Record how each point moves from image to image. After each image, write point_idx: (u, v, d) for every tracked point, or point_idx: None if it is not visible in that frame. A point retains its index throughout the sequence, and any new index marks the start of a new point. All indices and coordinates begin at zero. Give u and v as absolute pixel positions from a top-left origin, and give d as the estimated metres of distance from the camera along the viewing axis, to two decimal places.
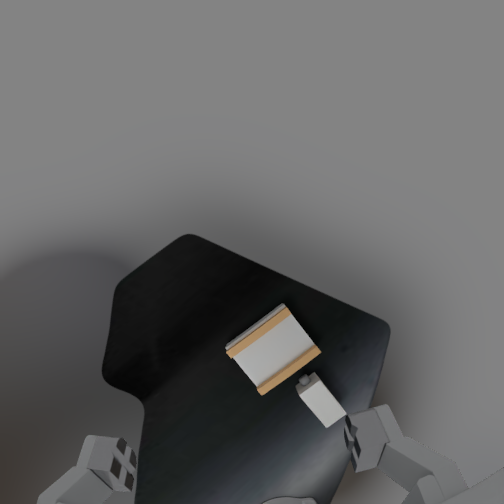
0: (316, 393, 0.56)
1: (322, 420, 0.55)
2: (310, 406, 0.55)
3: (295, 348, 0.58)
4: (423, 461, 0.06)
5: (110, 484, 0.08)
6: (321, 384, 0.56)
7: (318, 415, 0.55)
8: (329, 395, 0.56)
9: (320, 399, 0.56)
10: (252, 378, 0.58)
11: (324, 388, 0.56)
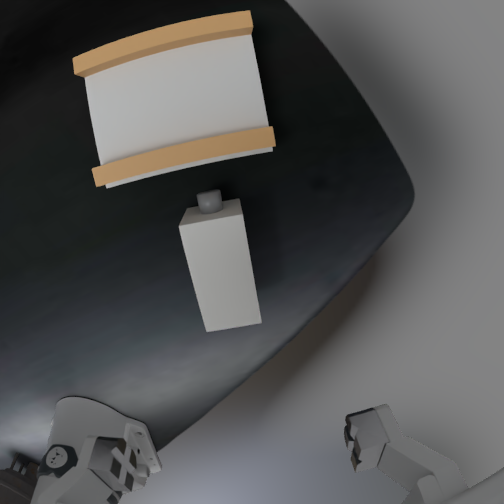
0: (219, 242, 0.25)
1: (205, 311, 0.27)
2: (192, 266, 0.25)
3: (221, 113, 0.23)
4: (423, 461, 0.06)
5: (110, 484, 0.08)
6: (240, 226, 0.24)
7: (201, 296, 0.26)
8: (246, 263, 0.25)
9: (221, 261, 0.25)
10: (100, 142, 0.22)
11: (243, 240, 0.25)
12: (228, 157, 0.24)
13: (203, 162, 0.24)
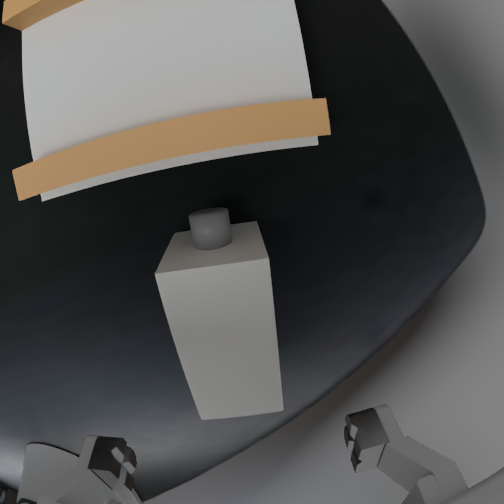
0: (225, 303, 0.14)
1: (199, 397, 0.16)
2: (179, 337, 0.15)
3: (231, 74, 0.12)
4: (423, 461, 0.06)
5: (110, 484, 0.08)
6: (264, 279, 0.14)
7: (193, 378, 0.16)
8: (268, 335, 0.15)
9: (228, 332, 0.15)
10: (33, 127, 0.12)
11: (266, 301, 0.14)
12: (241, 152, 0.13)
13: (196, 159, 0.13)
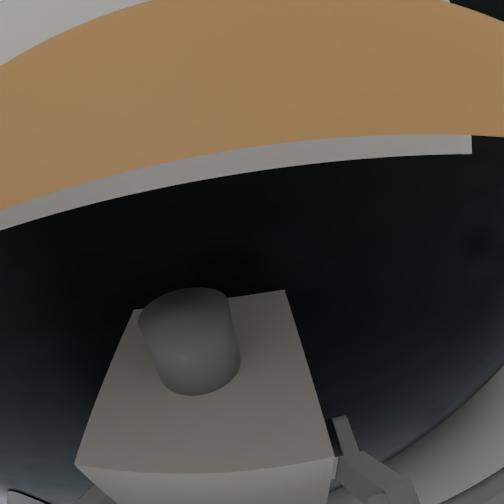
0: None
1: None
2: None
3: None
4: (376, 478, 0.06)
5: None
6: (316, 480, 0.05)
7: None
8: None
9: None
10: None
11: (314, 498, 0.05)
12: (289, 158, 0.04)
13: (155, 180, 0.04)
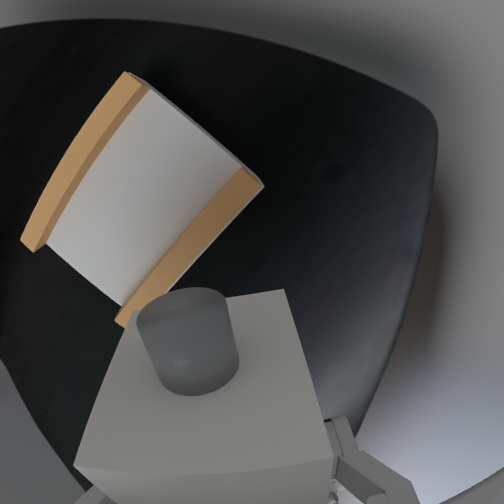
0: None
1: None
2: None
3: (186, 187, 0.20)
4: (376, 478, 0.06)
5: None
6: (316, 481, 0.05)
7: None
8: None
9: None
10: (104, 288, 0.22)
11: (314, 499, 0.05)
12: (226, 224, 0.21)
13: (207, 245, 0.21)
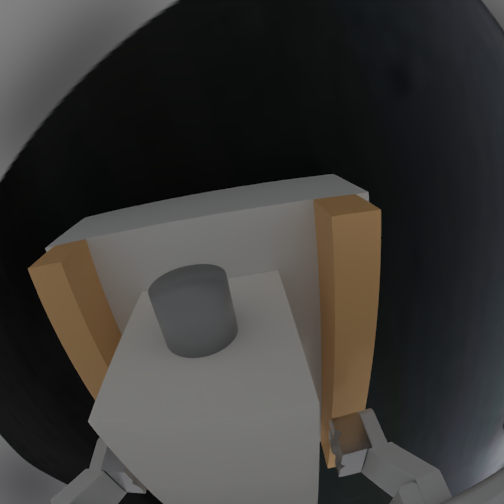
0: (230, 462, 0.06)
1: None
2: (156, 488, 0.07)
3: None
4: (406, 468, 0.06)
5: (124, 486, 0.08)
6: (306, 432, 0.06)
7: None
8: (304, 483, 0.07)
9: (237, 487, 0.07)
10: None
11: (306, 455, 0.06)
12: None
13: None
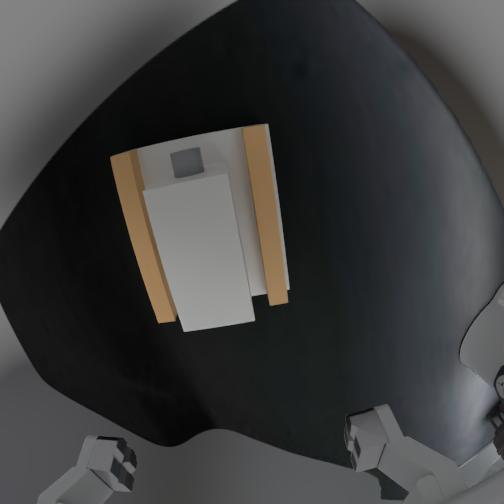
0: (196, 212, 0.18)
1: (180, 305, 0.20)
2: (162, 245, 0.19)
3: None
4: (423, 461, 0.06)
5: (110, 484, 0.08)
6: (225, 190, 0.18)
7: (175, 285, 0.20)
8: (232, 240, 0.19)
9: (200, 238, 0.19)
10: None
11: (228, 209, 0.18)
12: (273, 169, 0.23)
13: (276, 195, 0.24)
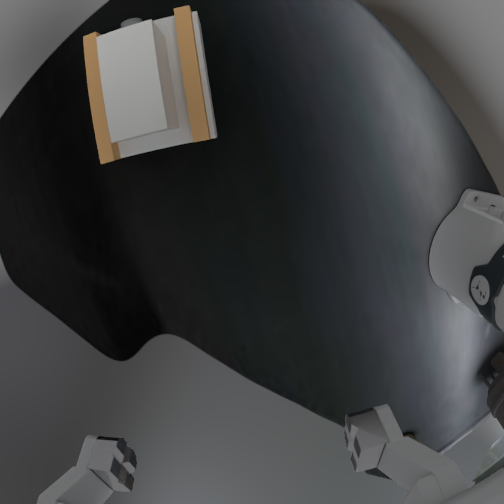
0: (128, 45, 0.20)
1: (110, 117, 0.22)
2: (103, 70, 0.21)
3: None
4: (423, 461, 0.06)
5: (110, 484, 0.08)
6: (148, 29, 0.20)
7: (108, 100, 0.22)
8: (151, 61, 0.21)
9: (129, 62, 0.21)
10: (176, 141, 0.29)
11: (149, 40, 0.20)
12: (199, 40, 0.25)
13: (202, 57, 0.26)
